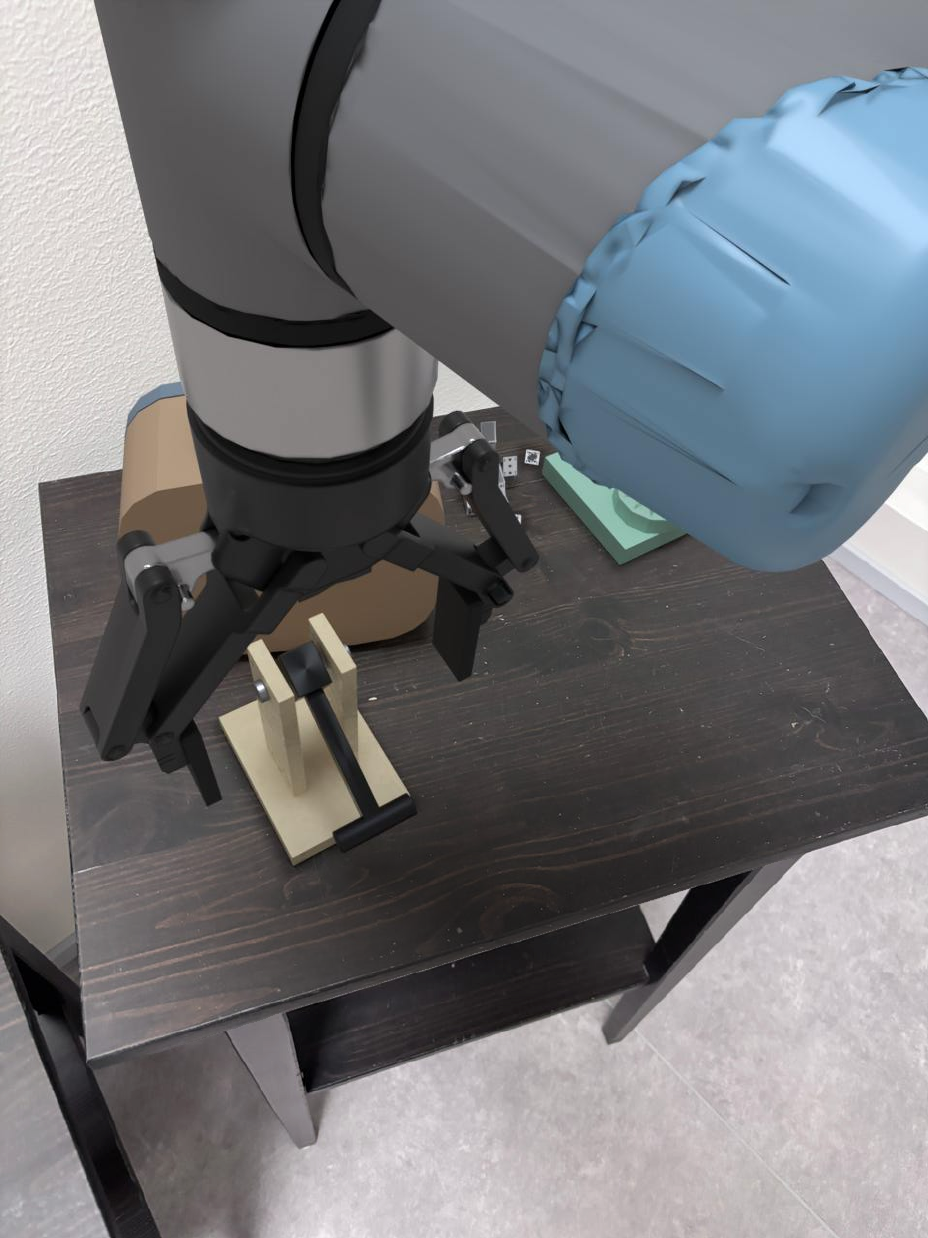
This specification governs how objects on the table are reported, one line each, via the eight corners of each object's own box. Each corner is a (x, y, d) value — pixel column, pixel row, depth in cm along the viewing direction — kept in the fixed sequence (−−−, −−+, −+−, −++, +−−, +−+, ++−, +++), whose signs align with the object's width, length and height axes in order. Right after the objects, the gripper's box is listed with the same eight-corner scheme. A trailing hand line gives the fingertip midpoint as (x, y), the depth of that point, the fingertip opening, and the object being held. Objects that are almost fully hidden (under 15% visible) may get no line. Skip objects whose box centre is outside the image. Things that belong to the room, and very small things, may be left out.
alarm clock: (416, 551, 77) (431, 345, 60) (432, 646, 72) (453, 451, 55) (165, 569, 74) (102, 357, 56) (162, 669, 69) (92, 470, 51)
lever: (411, 814, 56) (421, 814, 54) (339, 853, 55) (346, 855, 52) (327, 638, 57) (333, 630, 55) (252, 671, 55) (256, 664, 53)
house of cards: (564, 521, 81) (581, 459, 74) (469, 532, 79) (477, 470, 73) (538, 448, 86) (551, 384, 79) (447, 457, 84) (454, 393, 78)
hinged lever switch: (409, 804, 65) (419, 702, 52) (293, 866, 61) (274, 773, 49) (331, 675, 70) (323, 556, 58) (221, 727, 67) (188, 611, 55)
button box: (708, 526, 82) (723, 496, 79) (621, 567, 78) (632, 538, 75) (626, 438, 87) (636, 407, 84) (541, 473, 84) (548, 442, 81)
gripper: (571, 217, 34) (502, 567, 51) (-169, 436, 25) (54, 770, 42) (701, 337, 30) (580, 668, 48) (-98, 640, 21) (112, 911, 39)
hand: (334, 716), depth 45 cm, fingers open, 13 cm apart
